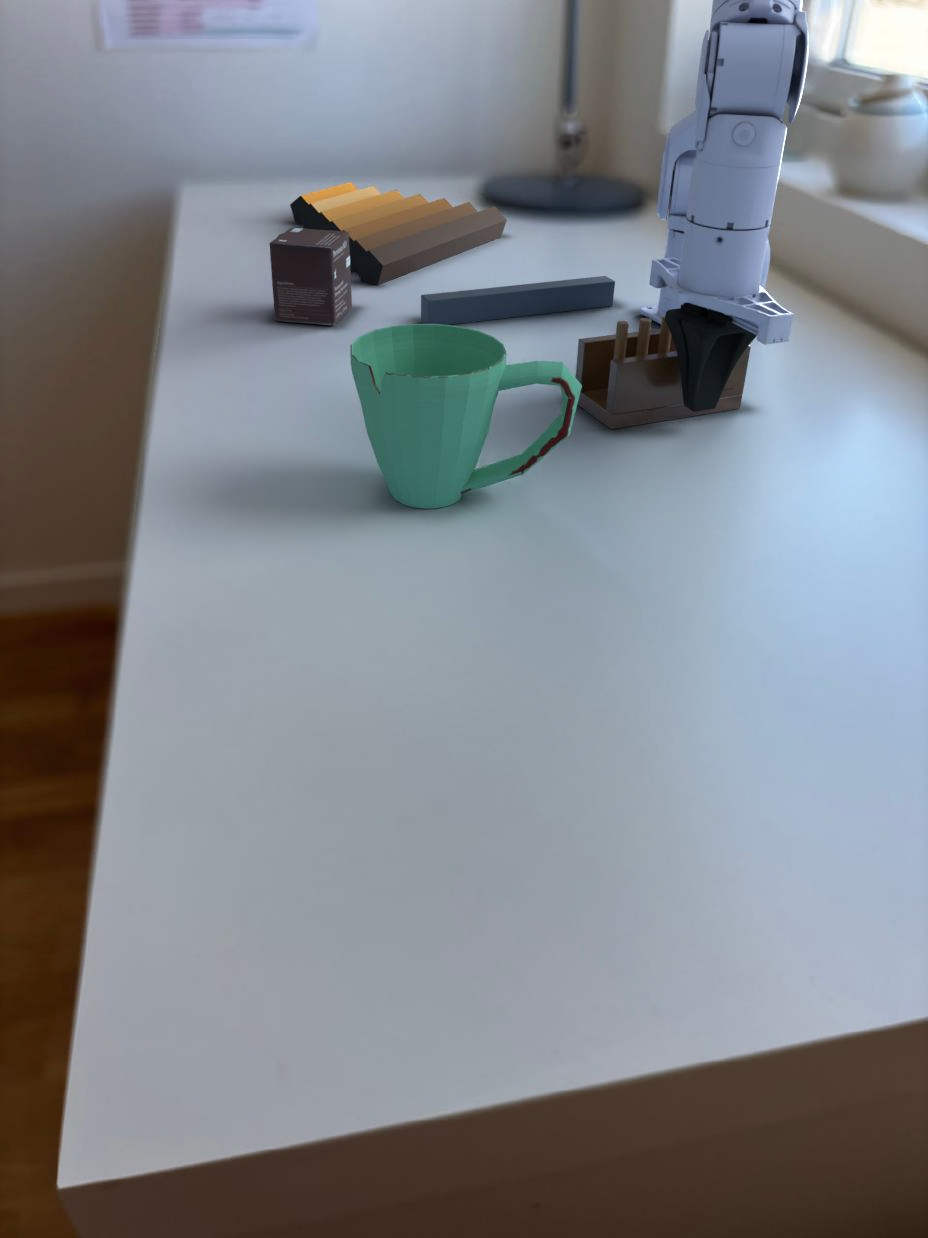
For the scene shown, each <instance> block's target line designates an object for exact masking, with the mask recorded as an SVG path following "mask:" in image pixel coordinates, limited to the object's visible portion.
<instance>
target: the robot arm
mask: <svg viewBox="0 0 928 1238" xmlns="http://www.w3.org/2000/svg"><path fill="white" fill-rule="evenodd" d="M809 42H810V41H809V25H808V22H807V11H805V10H803V0H712V5H711V15H710V24H709V29H707V30H706V31H705V34H704V36H703V39H702V44H701V50H700V57H699V66H698V73H697V82H696V91H695V98H694V99H695V100H694V104H695V110H694V111H693V112H691V113H690V114H687V116H684V118H682V119H681V120H678V121H677V122H676V123H674V124H673V125H672V126H671V127H670V130H669V132H668V133H667V134H666V136H665V137H666V139H665V148H664V151H663V153H662V161H661V168H660V176H659V185H658V194H657V203H656V211H655V212H656V215H658V217H659V219H660V220H661V221H667V233H666V242H665V248H664V249H665V250H664V257H663V258H656V259H652V260H651V266H650V274H649V286H650V287H653V288H654V289H660V290H659V297H658V298H659V299H658V305H653V306H651V305H650V306H642V307H639V313H640V314H641V315H643V316H645V318H648V319H651V321H654V322H656V323H657V324H659V325H661V321H662V316H664V315H665V321H666V323H667V326H668V328H669V330H670V333H671V335H672V338H673V341H674V344H675V348H676V352H677V356H678V361H679V368H680V375H681V384H682V393H683V401H684V406H685V407H687V408H689V409H690V410H692V411H694V412H697V411H703V410H709V409H715V408H716V405H717V403H718V401H719V399H720V396H721V394H722V392H723V389H724V387H725V385H726V383H727V380H728V378H729V376H730V374H731V372H732V370H733V368H734V367H735V365H736V363H737V362H738V360H739V358H740V357H741V355H742V354H743V353H744V351H745V350H746V348H747V347H748V346H749V345H750V346H751V344H752V343H753V341H754V340H755V339H756V341H757V342H759V343H761V344H763V345H774V344H780V343H787V342H789V339H790V336H791V330H792V325H793V320H794V313H793V312H791V311H790V310H787V309H786V308H785V307H783V306H782V305H780V304H779V303H778V302H777V301H776V300H775V299H774V298H773V297H772V296H771V295H770V293H768V292H767V291H766V285H767V281H768V280H767V279H768V275H769V274H768V273H769V268H770V264H771V263H770V262H771V246H770V242H769V235H770V231H771V223H772V219H773V218H772V217H773V211H774V206H775V201H776V195H777V188H778V184H779V183H778V182H779V178H780V172H781V166H782V160H783V153H784V148H785V143H786V142H785V141H786V137H787V130H788V126H786V124H785V122H784V121H783V118H784V115H785V111H786V107H788V116H787V117H788V118H787V119H788V124H790V125H791V124H792V123H794V120H795V117H796V114H797V112H798V110H799V106H800V103H801V99H802V96H803V91H804V86H805V82H806V76H807V75H806V74H807V69H808V62H809V61H808V60H809V49H810V45H809Z"/></svg>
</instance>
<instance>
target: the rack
mask: <svg viewBox="0 0 928 1238" xmlns="http://www.w3.org/2000/svg"><path fill="white" fill-rule="evenodd" d="M629 326H630V323H629V322H628V321H625V320H619V321H617V322H616V328H615V333H613V334H608V335H599V336H591V337H584V338H578V345H577V355H576V365H575V376H574V377H575V378H576V379H577V380H578V381H579V383H580V384H581V385H582V388H581V392H580V396H579V400H578V404H577V406H578V407H580V408H582V409H583V410H584V411H585V412H587V413H588V414H589V415H591V416H592V417H594V418H595V419H596V420H598V421H599V422H600V423H602V424H603V425H604V426H606V427H607V428H609V429H610V430H615V429H621V428H626V427H627V428H628V427H634V426H639V425H640V426H641V425H646V424H652V423H658V422H664V421H670V420H676V419H682V418H689V417H696V416H701V415H709V414H715V413H720V412H726V411H733V410H738V409H739V410H740V409H741V404H742V398H743V394H744V390H745V389H744V388H745V383H746V377H747V372H748V366H749V359H750V354H751V349H752V346H751V344H750V345H749V346H748V347H747V348H746V350H745V351H744V353H743V354H742V355H741V357H740V358H739V360H738V362H737V363H736V365H735V367H734V368H733V370H732V372H731V374H730V376H729V378H728V380H727V383H726V385H725V387H724V389H723V392H722V394H721V396H720V399H719V401H718V403H717V405H716V408H715V409H709V410H703V411H697V412H694V411H692V410H690V409H689V408H687V407H685V406H684V401H683V393H682V384H681V375H680V368H679V361H678V356H677V352H676V348H675V344H674V341H673V338H672V335H671V333H670V330H669V328H668V326H667V323H666V321H665V315H664V316H662V321H661V324H660V328H655V329H651V328H652V319H650V318H648V317H642V318H640V319H639V321H638V331H631V332H630V331H629Z"/></svg>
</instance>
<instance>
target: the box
mask: <svg viewBox="0 0 928 1238" xmlns="http://www.w3.org/2000/svg"><path fill="white" fill-rule="evenodd" d="M269 256H270V270H271V284H272V285H271V286H272V297H273V313H274V320H275V321H277V322H288V323H300V324H312V325H313V324H314V325H322V326H335V325H337V324H338V323H339V322H340V321H341V320H342V319H343V318H344V317H345V316H346V315H347V314H348V313H349V311H351V309H352V308H353V299H352V298H353V297H352V296H353V295H352V280H351V279H352V273H351V272H352V271H351V270H350V249H349V232H344V231H330V230H315V229H304V228H297V227H295V228H294V227H293V228H289V229H288V230H286V231H284V232H283V233H280V234H278V235H277V236H276V238H274V239H273V240H271V241H270V242H269Z"/></svg>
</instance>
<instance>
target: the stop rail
mask: <svg viewBox="0 0 928 1238" xmlns="http://www.w3.org/2000/svg"><path fill="white" fill-rule="evenodd" d="M615 287H616V281H615V280H614V279H612V278H610V277H608V276H607V275H600V276H599V275H598V276H590V277H582V278H581V277H580V278H571V279H562V280H553V281H542V282H534V283H523V284H514V285H504V286H496V287H495V286H493V287H486V288H476V289H467V290H455V291H447V292H439V293H438V292H436V293H428V294H421V295H420V322H421V323H422V324H442V325H458V324H459V325H460V324H466V323H475V322H476V323H477V322H483V321H491V320H502V319H509V318H510V319H511V318H519V317H526V316H536V315H537V316H538V315H545V314H553V313H562V312H569V311H579V310H580V311H581V310H588V309H595V308H604V307H613V305H614V297H615Z"/></svg>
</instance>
